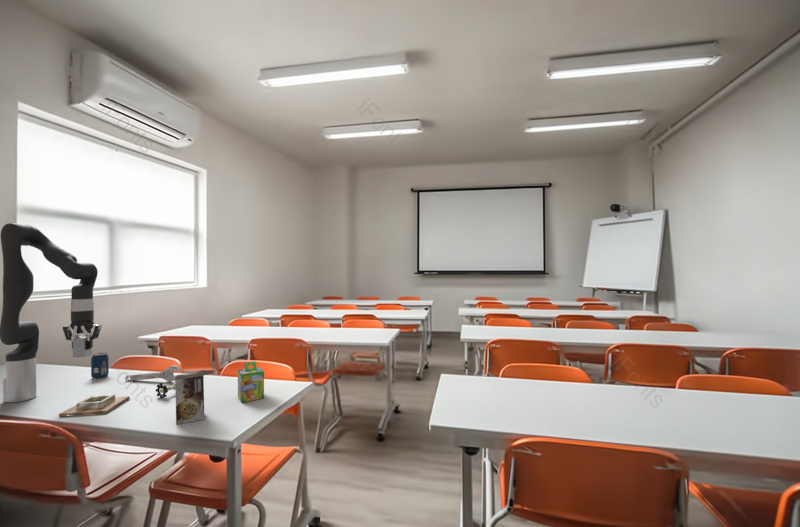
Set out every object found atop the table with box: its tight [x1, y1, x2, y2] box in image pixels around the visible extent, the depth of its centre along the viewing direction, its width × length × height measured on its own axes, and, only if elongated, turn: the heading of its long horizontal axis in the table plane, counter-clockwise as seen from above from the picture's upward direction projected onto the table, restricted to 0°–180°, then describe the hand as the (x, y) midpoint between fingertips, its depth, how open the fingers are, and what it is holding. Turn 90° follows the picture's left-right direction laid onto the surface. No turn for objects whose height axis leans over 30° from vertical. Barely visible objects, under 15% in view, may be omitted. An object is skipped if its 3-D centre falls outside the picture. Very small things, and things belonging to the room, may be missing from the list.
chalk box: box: [237, 361, 265, 403], centre depth 158 cm, size 9×9×15 cm
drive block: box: [72, 335, 92, 359], centre depth 159 cm, size 4×4×8 cm
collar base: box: [58, 394, 130, 417], centre depth 149 cm, size 16×16×3 cm
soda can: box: [90, 352, 110, 380], centre depth 191 cm, size 7×7×12 cm
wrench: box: [124, 364, 182, 383], centre depth 183 cm, size 8×2×30 cm
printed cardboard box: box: [174, 371, 205, 425], centre depth 137 cm, size 9×6×16 cm
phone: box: [198, 370, 213, 376], centre depth 192 cm, size 7×1×15 cm
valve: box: [155, 382, 175, 399], centre depth 164 cm, size 7×7×12 cm
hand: (82, 349), depth 159 cm, fingers closed on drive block, 4 cm apart
